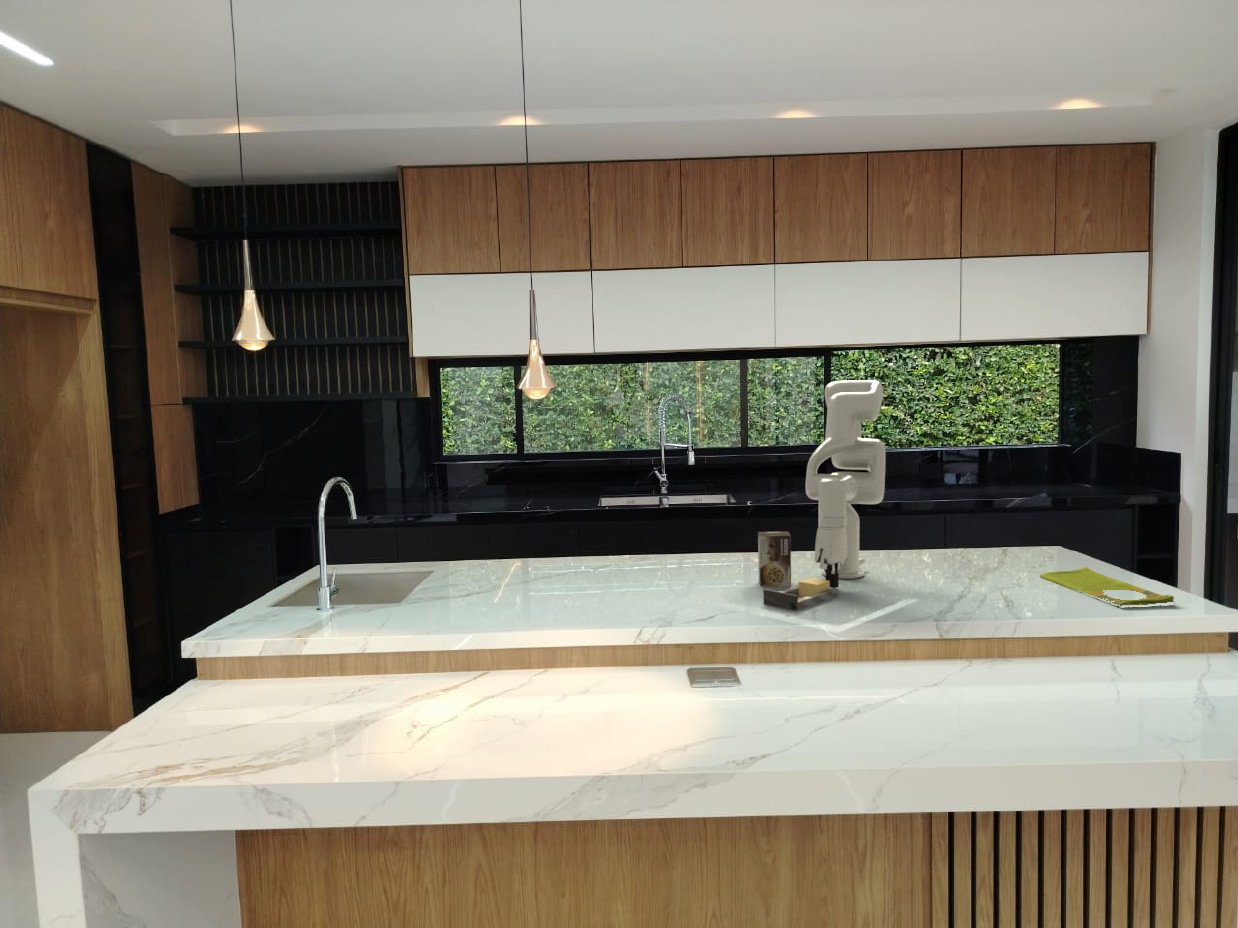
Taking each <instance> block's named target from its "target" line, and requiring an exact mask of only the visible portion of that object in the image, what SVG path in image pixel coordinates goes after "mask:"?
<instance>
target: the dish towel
mask: <svg viewBox="0 0 1238 928" xmlns="http://www.w3.org/2000/svg"><path fill="white" fill-rule="evenodd" d="M1039 578H1041V579H1044V580H1046V581H1049V582H1051V581H1052V583H1054V584H1058V585H1059V584H1060V585H1059V586H1062V587H1064V586H1065V587H1064V588H1067V589H1070V590H1072V589H1073V590H1072V591H1075V590H1078V591H1081V592H1084V593H1087V594H1089V595H1092V596H1095V597H1098V598H1101V599H1103V598H1104V600H1105V599H1108V600H1109V602H1111V601H1115V602H1112V603H1114V604H1117V605H1120V606H1122V605H1140V604H1141V605H1148V604H1156V603H1167V602H1174V603H1175V601H1174V599H1175V597H1174V596H1173V595H1170V594H1166V595H1162V594H1159V593H1156V592H1153V591H1150V590H1147V589H1144V588H1141V587H1139V586H1136V585H1134V584H1131V583H1128V582H1124V581H1122V580H1118V579H1115V578H1112V577H1109V576H1106V575H1104V574H1102V573H1099V572H1096V571H1094V570H1092V569H1090V568H1088V567H1086V566H1084V567H1083V568H1081V569H1072V570H1061V571H1050V572H1049V571H1048V572H1044V573H1041V574H1040V575H1039ZM1103 590H1105V591H1106V590H1130V591H1136V592H1140V593H1143V594H1145V595H1147V596H1146V597H1147V598H1145V599H1144V598H1143V599H1139V600H1120V599H1114V598H1111V597H1108V596H1107V595H1104V594H1103V593H1104V592H1103ZM1108 600H1106V601H1108Z"/></svg>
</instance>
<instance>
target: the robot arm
mask: <svg viewBox="0 0 1238 928" xmlns="http://www.w3.org/2000/svg"><path fill="white" fill-rule="evenodd" d="M883 399H884V388H883V385H882V384H881V382H880V381H879V380H873V379H872V380H871V379H867V380H866V379H864V380H863V379H862V380H857V379H856V380H855V379H854V380H850V379H849V380H835V381H831V382H829V383H828V384H826V385H825V388H824V400H825V404H826V408H827V410H826V411H827V413H826V424H825V425H826V426H825V437H824V441H823V442H822V443H821V444H820V445H819V446H818V447H816V449H815V450H814V451H813V453H812V454H811V456H810V457H809V459H808V462H807V465H806V474H805V475H806V477H805V494H806V496H807V497H808V498H809V499H810V500H813V501H814V500H815V501H818V528H817V530H816V535H815V543H814V544H815V546H814V562H815V563H817V564H819V569H821V574H822V575H823V576H825V580H828V581H830V589H832V588H836V589H837V588H839V587H840V586H839V579H844V580H846V579H847V580H850V579H858V578H861V577H864V576H865V570H863V569H861V568H860V566H861V565H864V564H865V563H866V559H865V558H864V557H860V516H859V514H858V512H857V511H856V510H855V508H854V507H853V506H852V505H858V504H859V505H860V504H861V505H877V504H879V503H880V504H881V502H882V501H883V499H884V498H885V497H884V496H885V485H886V484H885V482H886V480H885V479H886V448H885V445H884V442H883V441H882V440H880V439H878V438H862V423H861V421H864V422H865V421H866V422H867V421H868V422H869V421H870V422H872V421H875V420H876V419H877V418H878V416H879V414H880V411H881V406H882V403H883ZM829 458H831V463H832V465H833V466H834V468H837V469H842V470H857V471H858V470H862V471H863V470H864V471H865V470H866V471H868V472H855V471H836V472H832V473H818V469H819V467H820V465H821V464H822V463H823V462H824V461H826V460H828V459H829Z"/></svg>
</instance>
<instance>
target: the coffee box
mask: <svg viewBox="0 0 1238 928" xmlns="http://www.w3.org/2000/svg"><path fill="white" fill-rule="evenodd" d="M791 538H792V537H791V534H790V532H789V531H757V544H758V545H757V546H758V547H757V549H758V551H757V552H758V553H757V555H758V557H757V559H758V560H757V561H758V562H757V563H758V566H757V567H758V584H759V587H792V550H791V548H792V547H791V546H792V545H791V544H792V543H791V541H792V540H791Z"/></svg>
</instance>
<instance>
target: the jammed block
mask: <svg viewBox="0 0 1238 928" xmlns="http://www.w3.org/2000/svg"><path fill="white" fill-rule="evenodd" d="M797 586H798V597H801V598H803V597H808V596H811V595H814V594H817V593H820V592H823V591H826V590H829V589H831V587H830V581H828V580H826V579H820V578H817V577H816V578H815V577H808V578H805V579H802V580H799V581H798V585H797Z"/></svg>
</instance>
